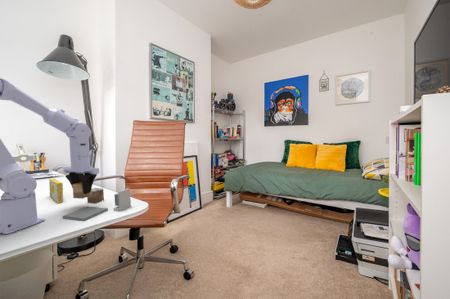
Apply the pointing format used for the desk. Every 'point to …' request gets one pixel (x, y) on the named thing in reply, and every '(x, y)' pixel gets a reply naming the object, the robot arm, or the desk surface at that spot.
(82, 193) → the tan small block
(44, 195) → the desk surface
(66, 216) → the parts mat
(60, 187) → the candy box
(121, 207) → the wall unit
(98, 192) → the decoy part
